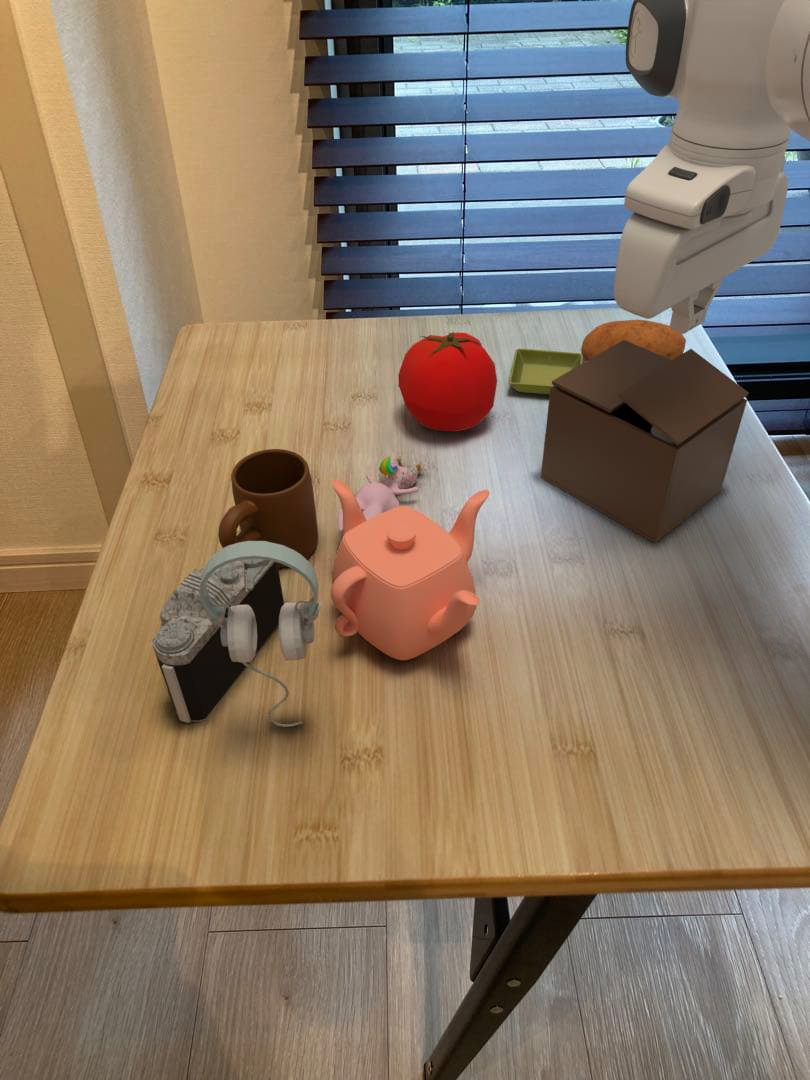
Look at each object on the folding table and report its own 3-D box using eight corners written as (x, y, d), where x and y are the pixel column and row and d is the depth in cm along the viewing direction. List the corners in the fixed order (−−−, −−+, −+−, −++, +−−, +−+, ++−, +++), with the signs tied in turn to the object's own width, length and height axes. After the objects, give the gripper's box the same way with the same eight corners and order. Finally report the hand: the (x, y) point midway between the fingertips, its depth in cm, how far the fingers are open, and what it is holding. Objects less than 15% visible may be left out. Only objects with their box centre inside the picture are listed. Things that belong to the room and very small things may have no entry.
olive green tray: (507, 397, 105) (508, 382, 104) (514, 361, 111) (515, 347, 110) (577, 403, 104) (579, 389, 102) (581, 367, 110) (583, 353, 109)
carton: (720, 491, 91) (749, 392, 82) (654, 543, 85) (678, 443, 76) (607, 433, 99) (623, 339, 91) (540, 477, 93) (550, 380, 85)
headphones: (233, 749, 68) (183, 571, 54) (238, 709, 71) (193, 530, 57) (336, 745, 68) (312, 566, 54) (337, 704, 71) (315, 525, 57)
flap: (747, 395, 83) (749, 392, 82) (677, 445, 77) (679, 442, 76) (689, 351, 85) (691, 348, 85) (617, 396, 79) (618, 393, 79)
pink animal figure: (384, 475, 96) (318, 538, 85) (386, 427, 93) (317, 487, 81) (434, 488, 94) (373, 555, 83) (438, 440, 91) (375, 503, 79)
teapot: (341, 560, 84) (332, 472, 77) (484, 570, 82) (490, 482, 75) (311, 674, 73) (297, 584, 66) (475, 688, 72) (480, 598, 64)
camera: (233, 589, 81) (215, 509, 74) (294, 610, 79) (281, 530, 72) (135, 703, 71) (104, 623, 65) (201, 730, 69) (175, 651, 62)
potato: (671, 394, 105) (675, 345, 100) (574, 377, 111) (573, 330, 106) (688, 361, 109) (693, 313, 104) (593, 346, 115) (593, 300, 110)
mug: (268, 609, 79) (253, 535, 73) (202, 584, 82) (183, 510, 75) (333, 532, 87) (325, 459, 81) (271, 512, 90) (259, 439, 83)
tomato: (477, 456, 96) (481, 370, 89) (385, 436, 99) (381, 352, 92) (508, 402, 104) (513, 319, 97) (421, 385, 108) (420, 304, 100)
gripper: (754, 132, 75) (719, 280, 84) (612, 193, 65) (589, 353, 74) (822, 148, 71) (777, 300, 80) (682, 215, 61) (650, 380, 70)
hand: (686, 326), depth 77 cm, fingers closed
